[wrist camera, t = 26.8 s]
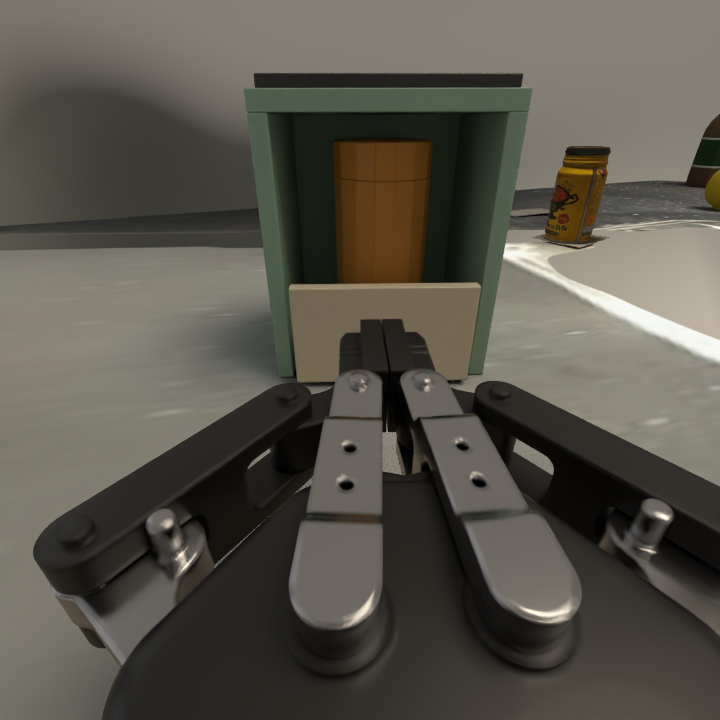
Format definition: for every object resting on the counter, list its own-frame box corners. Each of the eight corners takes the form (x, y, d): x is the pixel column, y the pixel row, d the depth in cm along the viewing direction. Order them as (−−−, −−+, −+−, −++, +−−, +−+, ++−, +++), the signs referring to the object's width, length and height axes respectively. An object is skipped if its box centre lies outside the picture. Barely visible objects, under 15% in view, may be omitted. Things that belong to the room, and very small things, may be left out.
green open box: (278, 377, 28) (241, 72, 19) (296, 311, 38) (276, 87, 29) (482, 374, 28) (535, 72, 20) (448, 310, 38) (474, 87, 29)
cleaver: (498, 215, 78) (511, 220, 73) (499, 208, 77) (512, 212, 73) (562, 209, 79) (579, 213, 75) (564, 202, 79) (580, 206, 74)
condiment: (530, 238, 60) (549, 146, 54) (562, 230, 64) (583, 144, 58) (578, 249, 55) (605, 149, 49) (609, 239, 59) (638, 146, 53)
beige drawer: (297, 382, 27) (288, 288, 24) (310, 314, 36) (305, 240, 33) (467, 380, 27) (481, 286, 24) (436, 313, 36) (444, 239, 33)
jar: (338, 350, 29) (331, 142, 22) (340, 315, 34) (334, 138, 28) (423, 349, 29) (441, 141, 22) (412, 314, 34) (424, 137, 28)
